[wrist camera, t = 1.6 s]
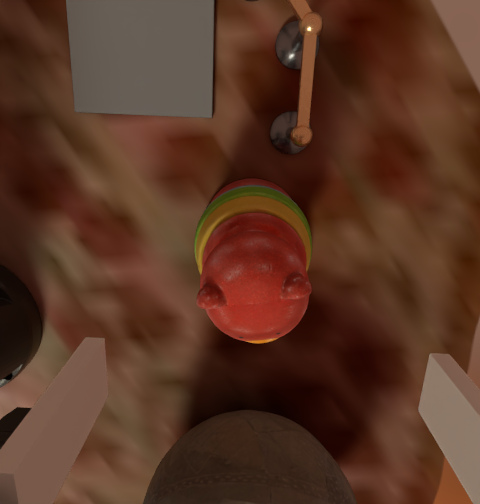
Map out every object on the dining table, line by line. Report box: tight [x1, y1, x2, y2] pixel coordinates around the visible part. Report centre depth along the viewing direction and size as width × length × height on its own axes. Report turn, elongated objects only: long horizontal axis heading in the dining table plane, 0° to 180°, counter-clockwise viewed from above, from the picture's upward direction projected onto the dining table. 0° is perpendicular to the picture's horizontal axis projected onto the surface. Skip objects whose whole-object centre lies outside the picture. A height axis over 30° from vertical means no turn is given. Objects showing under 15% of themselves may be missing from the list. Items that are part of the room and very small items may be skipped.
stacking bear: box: [194, 178, 312, 343], centre depth 31 cm, size 11×10×18 cm
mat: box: [66, 0, 215, 118], centre depth 34 cm, size 12×12×1 cm
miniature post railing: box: [247, 0, 323, 154], centre depth 30 cm, size 8×16×9 cm, turn 178°
